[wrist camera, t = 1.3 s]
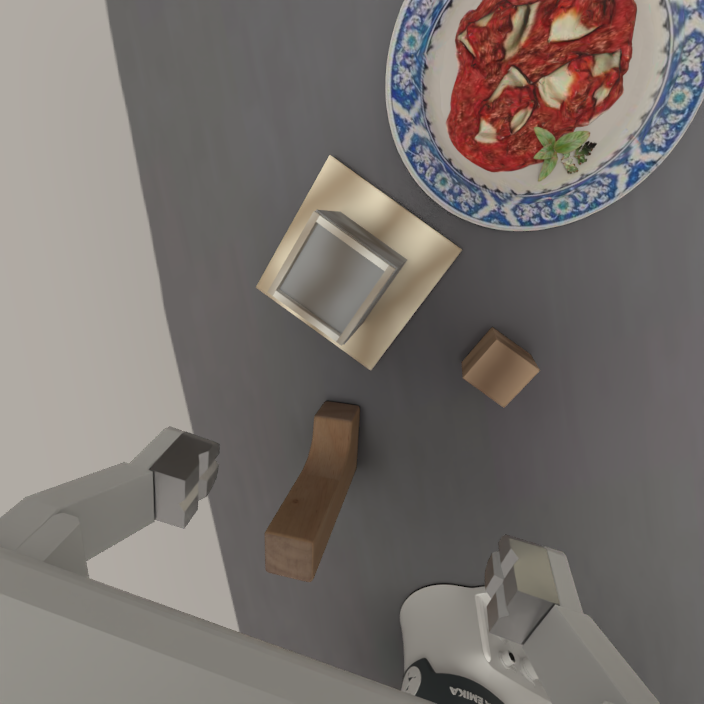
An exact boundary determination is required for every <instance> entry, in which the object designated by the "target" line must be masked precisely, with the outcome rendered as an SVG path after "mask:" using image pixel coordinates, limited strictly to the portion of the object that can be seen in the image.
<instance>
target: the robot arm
mask: <svg viewBox="0 0 704 704" xmlns="http://www.w3.org/2000/svg"><path fill="white" fill-rule="evenodd" d="M219 453H220V444H219V443H217V442H214V441H211V440H209V439H206V438H203V437H200V436H197V435H194V434H191V433H188V432H185V431H182V430H179V429H176V428H173V427H168V428H165V429H164V430H163V431H162V432H161V433H160V434H159V435H158V436H157V437H156V438H155V439H154V440H153V441H152V442H151V443H150V444H149V445H148V446H147V447H146V448H145V449H143V451H142V452H141V453H140V454H138V455H137V457H135V458H134V459H133V460H132V461H131V462H130V463H125V462H123V463H120V464H118V465H115V466H112V467H109V468H107V469H103V470H101V471H98V472H95V473H93V474H89V475H87V476H84V477H81V478H78V479H76V480H72V481H70V482H67V483H64V484H61V485H58V486H56V487H53V488H50V489H47V490H44V491H41V492H39V493H37V494H33V495H30V496H28V497H25V498H24V499H23V500H21V501H20V502H19V503H18V504H17V505H15V506H14V507H13V508H12V509H10V510H9V511H8V512H7V513H6V514H4V515H3V516H2V517H1V518H0V704H660V703H659V702H658V700H657V699H656V698H655V697H654V695H653V694H652V693H651V692H650V690H649V689H648V688H647V687H646V685H645V684H644V683H643V682H642V680H641V679H640V678H639V677H638V676H637V674H636V673H635V672H634V671H633V669H632V668H631V667H630V666H629V664H628V663H627V662H626V661H625V659H624V658H623V657H622V656H621V654H620V653H619V652H618V651H617V649H616V648H615V647H614V646H613V645H612V643H611V642H610V641H609V640H608V638H607V637H606V636H605V635H604V633H603V632H602V631H601V630H600V628H599V627H598V626H597V625H596V623H595V622H594V621H593V620H592V619H591V617H590V616H588V615H586V614H583V611H582V608H581V604H580V601H579V597H578V594H577V591H576V587H575V584H574V581H573V577H572V574H571V571H570V567H569V564H568V561H567V557H566V555H565V554H564V553H563V552H561V551H558V550H555V549H552V548H549V547H545V546H542V545H539V544H536V543H533V542H529V541H526V540H523V539H520V538H516V537H513V536H510V535H507V534H505V535H504V536H502V537H501V539H500V541H499V542H498V545H499V551H497V552H494V553H492V554H491V556H490V558H489V560H488V562H487V566H486V570H485V586H484V587H476V588H467V587H461V586H456V585H433V586H429V587H425V588H422V589H420V590H418V591H416V592H414V593H413V594H412V595H410V596H409V597H408V598H407V600H406V601H405V602H404V604H403V606H402V608H401V612H400V624H401V629H402V635H403V644H404V676H403V681H402V686H401V691H400V690H398V689H395V688H392V687H389V686H386V685H384V684H381V683H378V682H375V681H373V680H370V679H367V678H364V677H362V676H359V675H356V674H353V673H350V672H348V671H345V670H342V669H339V668H337V667H334V666H331V665H328V664H326V663H323V662H320V661H317V660H314V659H312V658H309V657H306V656H303V655H301V654H298V653H295V652H292V651H290V650H287V649H284V648H281V647H278V646H276V645H273V644H270V643H267V642H265V641H262V640H259V639H256V638H253V637H251V636H248V635H245V634H242V633H240V632H237V631H234V630H231V629H228V628H226V627H223V626H220V625H217V624H215V623H212V622H209V621H206V620H204V619H201V618H198V617H195V616H192V615H190V614H187V613H184V612H181V611H179V610H175V609H173V608H170V607H167V606H165V605H162V604H159V603H156V602H153V601H151V600H148V599H145V598H142V597H140V596H136V595H134V594H131V593H129V592H126V591H123V590H120V589H117V588H114V587H112V586H109V585H106V584H104V583H101V582H98V581H95V580H92V579H90V578H89V575H88V569H87V563H86V561H87V560H89V559H91V558H92V557H94V556H96V555H98V554H99V553H101V552H103V551H104V550H106V549H108V548H110V547H112V546H113V545H115V544H117V543H118V542H120V541H122V540H124V539H125V538H127V537H129V536H130V535H132V534H134V533H136V532H137V531H139V530H141V529H142V528H144V527H146V526H148V525H149V524H151V523H153V522H154V520H157V521H161V522H164V523H167V524H170V525H174V526H177V527H180V528H183V529H184V528H185V527H186V525H187V524H188V523H189V521H190V519H191V518H192V517H193V515H194V514H195V513H196V511H197V509H198V501H199V500H201V499H203V498H205V497H207V495H208V494H209V492H210V491H211V489H212V487H213V485H214V483H215V480H216V478H217V474H218V467H219V464H218V463H217V461H216V460H215V459H216V457H217V456H218V455H219Z"/></svg>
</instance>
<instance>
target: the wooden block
mask: <svg viewBox="0 0 704 704" xmlns="http://www.w3.org/2000/svg"><path fill="white" fill-rule="evenodd" d="M359 416H360V408H359V406H357V405H350V404H344V403H337V402H330V401H326V402H324V404H323V405H322V407H321V408H320V409H319V411H318V412H317V414H316V415H315V417H314V427H313V439H312V443H311V448H310V452H309V456H308V459H307V461H306V463H305V466H304V468H303V470H302V472H301V473H300V475H299V477H298V478H297V480H296V482H295V483H294V485H293V487H292V488H291V490H290V492H289V493H288V495H287V497H286V498H285V500H284V502H283V503H282V505H281V507H280V508H279V510H278V512H277V513H276V515H275V517H274V518H273V520H272V522H271V523H270V525H269V527H268V528H267V530H266V532H265V566H266V571H267V572H268V573H272V574H277V575H281V576H285V577H289V578H293V579H298V580H302V581H306V582H311V581H312V580H313V578H314V576H315V573H316V571H317V568H318V566H319V563H320V561H321V558H322V555H323V553H324V550H325V548H326V545H327V543H328V540H329V537H330V535H331V532H332V530H333V527H334V525H335V522H336V519H337V517H338V514H339V512H340V509H341V507H342V504H343V502H344V499H345V496H346V494H347V491H348V489H349V486H350V484H351V481H352V478H353V476H354V473H355V471H356V468H357V451H358V433H359Z"/></svg>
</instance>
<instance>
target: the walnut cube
mask: <svg viewBox="0 0 704 704" xmlns="http://www.w3.org/2000/svg"><path fill="white" fill-rule="evenodd" d="M539 371H540V369H539V368H538V366H537V364H536V363H535V361H534V359H533V358H532V356H531V355H530V354H529V353H528V352H526V351H525V350H524V349H522V348H521V347H519V346H518V345H517V344H515V343H514V342H512V341H511V340H510V339H508V338H507V337H506V336H504V335H503V334H501V333H500V332H499V331H497V330H496V329H494V328H493V327H492V328H491V329H490V330H489V331H488V332H487V333H486V335H485V336H484V337H483V338H482V339H481V340H480V341H479V343H478V344H477V345H476V346H475V347H474V348H473V350H472V351H471V352H470V353H469V354H468V355H467V357H466V358H465V359H464V360H463V361H462V374H463V379H465V380H466V381H468V382H469V383H470V384H472V385H473V386H474V387H476V388H477V389H479V390H480V391H481V392H483V393H484V394H486V395H487V396H488V397H490V398H491V399H492V400H494V401H495V402H497V403H498V404H499V405H501V406H502V407H505V406H506V405H507V404H508V403H509V402H510V401H511V400H512V399H513V398H514V397H515V396H516V395H517V394H518V393H519V392H520V391H521V390H522V389H523V388H524V387H525V386H526V385H527V383H528V382H529V381H530V380H531V379H532V378H533V377H534V376H535V375H536V374H537V373H538V372H539Z"/></svg>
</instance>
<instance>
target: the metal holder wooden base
mask: <svg viewBox="0 0 704 704" xmlns="http://www.w3.org/2000/svg"><path fill="white" fill-rule="evenodd" d="M461 251H462V249H461V248H459V247H458V246H457V245H455V244H454V243H452V242H451V241H450V240H448V239H447V238H445V237H444V236H443V235H441V234H440V233H438V232H437V231H436V230H434V229H433V228H432V227H430V226H429V225H427V224H426V223H425V222H423V221H422V220H420V219H419V218H418V217H416V216H415V215H413V214H412V213H411V212H409V211H408V210H406V209H405V208H404V207H402V206H401V205H400V204H398V203H397V202H395V201H394V200H393V199H391V198H390V197H388V196H387V195H386V194H384V193H383V192H381V191H380V190H379V189H377V188H376V187H374V186H373V185H372V184H370V183H369V182H368V181H366V180H365V179H363V178H362V177H361V176H359V175H358V174H356V173H355V172H354V171H352V170H351V169H349V168H348V167H347V166H345V165H344V164H342V163H341V162H340V161H338V160H337V159H336V158H334V157H332V156H331V155H330V156H329V157H328V159H327V161H326V163H325V164H324V166H323V168H322V170H321V172H320V173H319V175H318V177H317V179H316V181H315V182H314V184H313V186H312V188H311V190H310V191H309V193H308V195H307V197H306V198H305V200H304V202H303V204H302V206H301V207H300V209H299V211H298V213H297V215H296V216H295V218H294V220H293V222H292V224H291V225H290V227H289V229H288V231H287V232H286V234H285V236H284V238H283V240H282V241H281V243H280V245H279V247H278V249H277V250H276V252H275V254H274V256H273V257H272V259H271V261H270V263H269V265H268V266H267V268H266V270H265V272H264V274H263V275H262V277H261V279H260V281H259V283H258V284H257V286H256V288H258V289H259V290H260V291H262V292H263V293H264V294H266V295H267V296H269V297H270V298H271V299H273V300H274V301H275V302H277V303H278V304H280V305H281V306H282V307H284V308H285V309H287V310H288V311H289V312H291V313H292V314H293V315H295V316H296V317H298V318H299V319H300V320H302V321H303V322H304V323H306V324H307V325H309V326H310V327H311V328H313V329H314V330H316V331H317V332H318V333H320V334H321V335H322V336H324V337H325V338H327V339H328V340H329V341H331V342H332V343H333V344H335V345H336V346H338V347H339V348H340V349H342V350H343V351H345V352H346V353H347V354H349V355H350V356H351V357H353V358H354V359H356V360H357V361H358V362H360V363H361V364H362V365H364V366H365V367H367V368H368V369H369V370H372V368H373V367H374V366H375V364H376V363H377V362H378V360H379V359H380V358H381V356H382V355H383V354H384V352H385V351H386V350H387V348H388V347H389V346H390V344H391V343H392V342H393V340H394V339H395V338H396V336H397V335H398V334H399V333H400V331H401V330H402V329H403V327H404V326H405V325H406V323H407V322H408V321H409V319H410V318H411V317H412V315H413V314H414V313H415V311H416V310H417V309H418V307H419V306H420V305H421V303H422V302H423V301H424V300H425V298H426V297H427V296H428V294H429V293H430V292H431V290H432V289H433V288H434V286H435V285H436V284H437V282H438V281H439V280H440V278H441V277H442V276H443V274H444V273H445V272H446V270H447V269H448V268H449V266H450V265H451V264H452V263H453V261H454V260H455V259H456V257H457V256H458V255H459V253H460V252H461Z"/></svg>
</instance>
